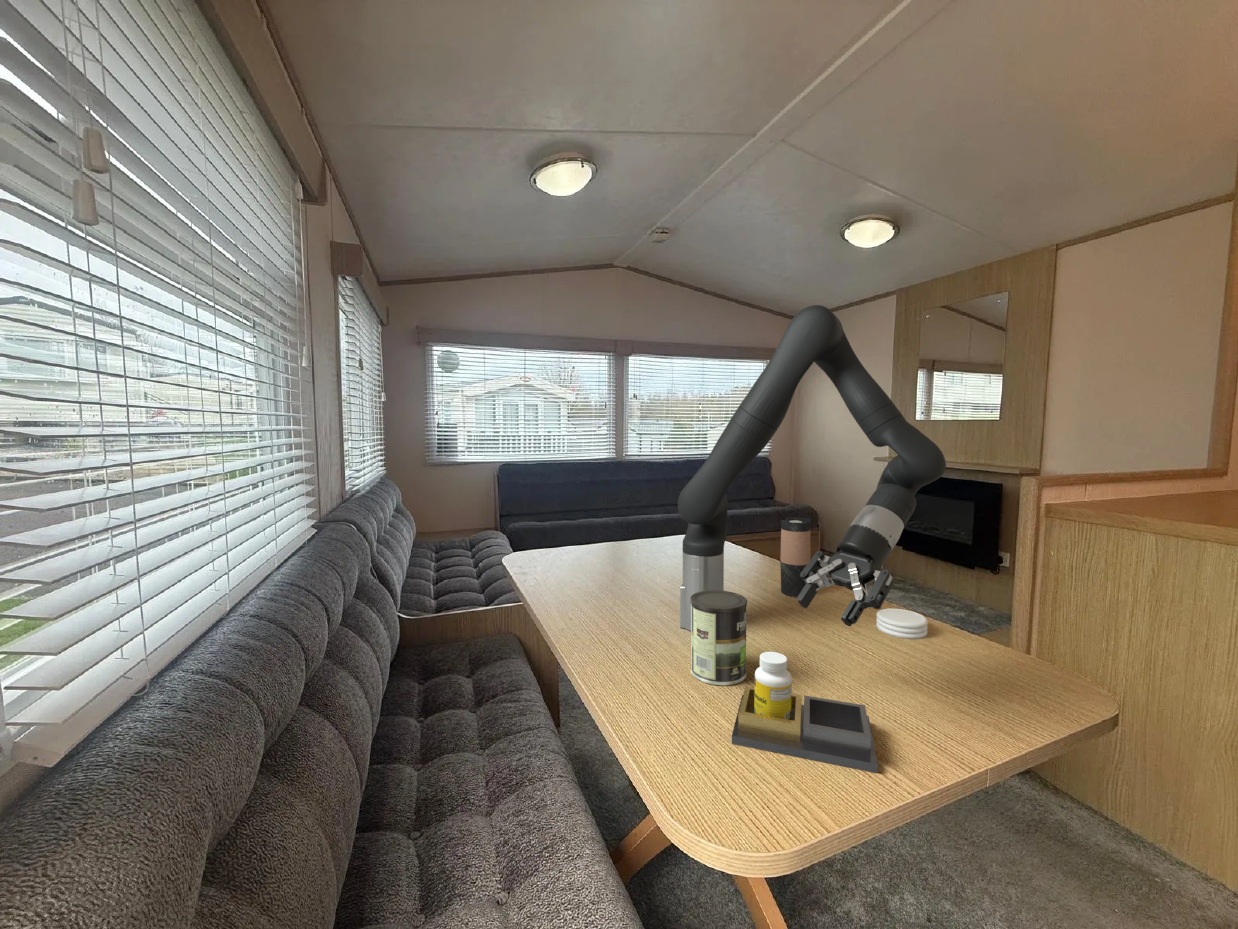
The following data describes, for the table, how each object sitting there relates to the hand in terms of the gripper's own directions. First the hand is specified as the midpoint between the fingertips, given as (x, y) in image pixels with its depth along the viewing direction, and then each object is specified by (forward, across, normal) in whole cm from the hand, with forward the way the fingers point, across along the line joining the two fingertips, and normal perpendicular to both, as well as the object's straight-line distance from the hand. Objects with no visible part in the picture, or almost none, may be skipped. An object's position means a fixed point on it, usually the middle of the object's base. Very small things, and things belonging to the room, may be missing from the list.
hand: (822, 613), depth 85 cm
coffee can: (+16, -16, +6) cm, 24 cm away
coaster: (-18, -11, +39) cm, 44 cm away
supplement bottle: (+18, +1, +2) cm, 19 cm away
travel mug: (-17, -40, +40) cm, 59 cm away
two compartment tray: (+17, +5, +4) cm, 18 cm away
